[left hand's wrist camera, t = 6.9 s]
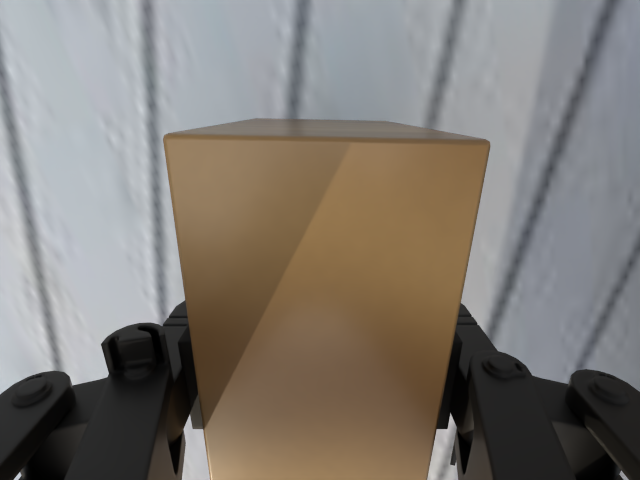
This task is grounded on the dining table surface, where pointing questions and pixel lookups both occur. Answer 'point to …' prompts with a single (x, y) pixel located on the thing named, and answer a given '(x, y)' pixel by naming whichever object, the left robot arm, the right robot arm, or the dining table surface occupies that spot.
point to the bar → (322, 290)
